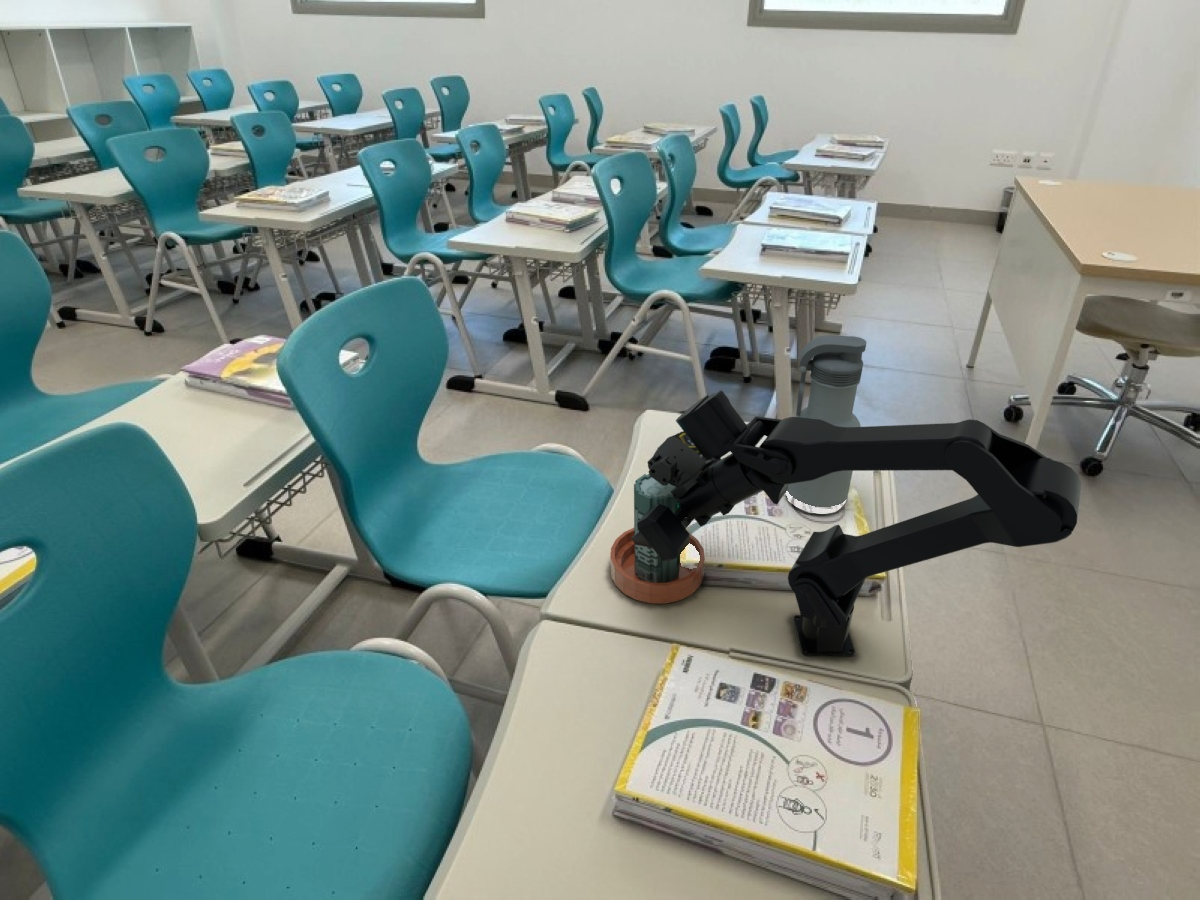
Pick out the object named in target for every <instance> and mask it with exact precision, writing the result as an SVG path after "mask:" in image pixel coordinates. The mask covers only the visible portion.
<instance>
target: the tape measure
mask: <svg viewBox="0 0 1200 900" xmlns="http://www.w3.org/2000/svg"><path fill="white" fill-rule="evenodd" d="M671 436H673V437H676V438H678V439H679V440H681V441H682V442H683V443H685V444H686V445H687V446H689V447H690V448H691V449H693V450H694V451H695V452H697V453H698V455H701V453H700V452H699V450H698V449H697V448H696V447H695V445H694V444H693V443H692V441H691V440H690V439H689V437H688V436H687V435H686V434H685V432H684V431H683V430H682V431H680V432H678V433H676V434H673V435H670V436H668V437H667V438H669V437H671Z"/></svg>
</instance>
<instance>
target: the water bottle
mask: <svg viewBox="0 0 1200 900" xmlns="http://www.w3.org/2000/svg"><path fill="white" fill-rule="evenodd" d="M867 343H868V342H867V340H865V338H862V337H860V336H854V335H853V336H852V335H838V334H823V335H819V336H817V337H814V338H812V339H811V340H809V341H808V342H807V343H806V344H805V345H804V346H803V348H802V350H801V352H800V356H799V364H798V372H799V373H800V379H799V385H798V393H797V402H796V410H795V411H796V412H795V417H802V418H811V419H820V420H823V421H825V422H828V423H830V424H832V425H835V426H840V427H862V425H861V423H860V419H858V417H857V416H856V414H854V413H853V412H854V411H853V410H854V406H855V401H856V396H857V391H858V385H859V384H860V383H861V378H862V373H863V367H864V361H863V353H864V352H865V351H866V347H867ZM807 372H810V379H811V381H810V388H809V394H808V402H807V407H804V408H803V409H802V407H803V400H804V393H805V392H804V391H805V382H806V377H807ZM853 473H854V471H839V472H833V473H830V474H828V475H825V476H823V477H820V478H817V479H815V480H812V481H806V482H799V483H793V484H788V490H787V491H788V492H789V494H790V495H791V496H793V498H795V499H797V500H798V501H801V502H803V503H805V504H808V505H811V506H815V507H817V506H818V507H831V506H835V505H839V504H841V503H843V502H844V501H845V500H846V499H847V500H848V497H849V493H850V492H849V491H850V487H851V481H852V477H853Z"/></svg>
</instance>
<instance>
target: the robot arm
mask: <svg viewBox="0 0 1200 900" xmlns="http://www.w3.org/2000/svg"><path fill="white" fill-rule="evenodd" d="M675 422H676V424H677V425H678V426H679V427H680V429H681V430H682V431H684V432H685V434H686V435H687V436H688V437H689V439H690V440H691V441H692V443H693V444H694V445H695V447H696V448H697V449H698V450H699V452H700V453H701V455H698V453H697V452H695V451H694V450H693V449H691V448H690V447H689V446H687V445H686V444H685V443H683V442H682V441H681V440H679V439H678V438H676V437H673V435H670V436H671V437H670V436H668V437H669V438H668V437H667V438H666V439H665V440H664V441H663V442H662V443H661V444H660V445H659V446H658V447H657V449H656V450H655V452H654V453H653V455H652V457H650V459H648V461H647V468H648V474H649V475H650V476H651V477H652V478H653V479H655V480H656V481H657V482H659V483H660V484H661V485H663V486H666V485H668V484H670V485H673V486H677V487H675V488H673V489H672V490H671V493H672V495H673V496H674V497H675V498H676V499H679V500H678V502H679V504H680V507H679V508H678V510H677V511H676V512H675V513H673V512H672V511H671V509H670V508H669V507H667V506H665V505H662V504H658V505H656V506H654V507H653V508H652V509H651V508H650V509H649V510H648V511H647V512H646V514H645V515H644V516H643V517H642V518H641V519H640V520H639V521H638V522H637V529H638V530H639V531H638V532H637V533H636V534H635V535H634V536H633V537H632V538H631V539H632V541H633V542H634V543H635V544H636V545H640V546H645V547H650V548H653V549H654V551H655V552H656V553H657V554H658V556H659V557H660V558H661V559H662V561H665V562H669V561H671V560H673V559H675V558H677V557H678V556H679V555H680V554H681V552H682V551H683V550H684V549H685V547H686V546H687V545H688V544H689V542H690V534H691V533H690V532H689V531H688V530H687V528H688V527H689V526H690V524H691V523H692V522H693V521H696V523H697V524H698V525H699V527H703V526H705V525H707V524H708V523H709V521H710V520H711V519H712V517H713V516H715V515H717V514H719V513H720V514H721V515H722V516H726V515H728V514H730V513H731V512H732V510H733V509H734V507H735V506H736V505H738V504H740V503H742V502H744V501H745V500H747V499H749V498H752V497H753V496H756V495H758V494H760V493H761V492H764V493H765V494H766V496H767V497H768V498H769V500H770V501H771V502H772V503H773V504H774V505H778V504H779V503H780V501H781V500H782V499H783V497H784V495H785V493H786V491H787V490H788V484H793V483H799V482H806V481H812V480H815V479H817V478H820V477H823V476H825V475H828V474H830V473H833V472H839V471H853V472H860V471H861V472H863V471H865V472H867V471H868V472H870V471H871V472H872V471H874V472H877V471H878V472H879V471H883V472H884V471H885V472H886V471H890V472H892V471H894V472H897V471H901V472H902V471H903V472H904V471H906V472H907V471H953V472H954V473H956V474H957V475H958V476H960V477H961V478H963V479H964V480H966V482H967V483H968V484H969V485H970V486H971V488H972V489H973V491H974V492H976V495H975V496H973V497H970V498H968V499H965V500H962V501H959V502H956V503H952V504H950V505H946V506H945V507H944V506H943V507H942V508H938V509H934V510H932V511H929V512H927V513H923V514H920V515H917V516H915V517H911V518H908V519H905V520H903V521H900V522H899V521H898V522H896V523H894V524H893V523H892V524H890V525H887V526H885V527H882V528H879V529H875V530H872V531H869V532H867V533H863V534H861V535H852V534H847V533H845V532H844V531H843V529H842V528H841V525H840V524H836V525H833V526H831V527H830V528H828V529H826V530H823V531H813V532H812V534H811V535H810V537H809V539H808V540H807V542H806V543H805V544H804V547H803V548H802V550H801V552H800V553H799V554H798V557H797V558H796V560H795V561H794V564H792V567H791V568H790V570H789V571H788V576H787V581H788V586H789V587H790V590H791V591H792V592H793V593H794V596H795V600H796V603H797V607H798V611H799V614H796V615H794V616H793V623H794V628H795V631H796V635H797V639H798V640H797V641H798V643H799V647H800V651H801V654H802V655H804V656H810V657H811V656H813V657H815V656H816V657H827V656H828V657H853V656H855V654H856V650H855V646H854V644H853V641H852V637H851V635H850V627H851V623H852V619H853V613H854V610H855V603H856V601H857V599H858V597H859V594H860V592H861V590H862V588H863V586H864V583H865V581H866V579H867V578H869V577H873V576H876V575H879V574H883V573H887V572H889V571H893V570H897V569H901V568H905V567H909V566H911V565H913V564H918V563H921V562H925V561H929V560H932V559H936V558H939V557H943V556H945V555H949V554H953V553H957V552H959V551H964V550H967V549H970V548H974V547H976V546H980V545H983V544H997V545H1003V546H1009V547H1013V548H1023V547H1024V548H1025V547H1032V546H1040V545H1048V544H1054V543H1058V542H1061V541H1063V540H1065V539H1067V538H1068V537H1070V536H1071V535H1072V533H1073V531H1074V530H1075V528H1076V526H1077V524H1078V518H1079V510H1080V503H1081V502H1080V501H1081V494H1082V493H1081V492H1082V482H1081V479H1080V477H1079V475H1078V473H1077V472H1076V471H1075V470H1074V469H1073V468H1072V467H1070V466H1069V465H1067V464H1065V463H1063V462H1061V461H1057V460H1054V459H1052V458H1050V457H1047V456H1045V455H1044V454H1042V453H1041V452H1039V451H1038V450H1037V449H1035V448H1034V447H1032V446H1031V445H1030V444H1027V443H1025V442H1023V441H1020V440H1017V439H1014V438H1012V437H1009V436H1006V435H1004V434H1001V433H999V432H998V431H996V430H995V429H993V428H992V427H990V426H989V425H987V424H986V423H985V422H982V421H980V420H978V419H972V418H971V419H970V418H969V419H965V420H961V421H959V422H948V423H946V422H945V423H924V424H923V423H922V424H897V425H896V424H895V425H870V426H861V427H840V426H835V425H832V424H830V423H828V422H825V421H823V420H820V419H811V418H802V417H796V416H789V417H784V418H782V419H779V418H772V417H765V416H756V415H755V416H754V417H753V418H752V419H751V420H750V421H749V422H748V423H746V422H745V421H744V419H743V418H742V417H741V415H740V414H739V412H738V411H737V410H736V409H735V408H734V406H733V405H732V403H731V401H730V399H729V397H728V396H727V395H726V393H725V392H724V391H723V390H718V391H717V392H714V393H711V394H710V395H709V394H706V395H705V396H703V397H702V398H700V399H699V400H698V401H696V402H695V403H694V404H693V405H691V406H690V407H688V408H687V409H686V410H685V411H683V412H682V414H680V415H679V416H678V417H677V418H676V419H675ZM764 437H766V438H765V439H764V440H763V438H764ZM761 440H763V441H762V442H761ZM760 442H761V444H760V445H759V446H757V445H758V444H759V443H760ZM729 453H730V454H729ZM727 454H728V455H727ZM689 533H690V534H689Z"/></svg>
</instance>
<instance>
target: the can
mask: <svg viewBox="0 0 1200 900" xmlns="http://www.w3.org/2000/svg"><path fill="white" fill-rule="evenodd" d="M675 487H677V486H673V485H670V484H668V485H666V486H663V485H661V484H660V483H659V482H657V481H656V480H655V479H653V478H652V477H651V476H650V475H649V473H648V474H646V473H644V474H642V475H641V476H640V477H638V478H637V479H636V480H635V482H634V484H633V514H634V515H633V523H634V526H633V528H634V535H635V534H636V533H637V532H638V531H639V530H638V529H637V522H638V521H639V520H640V519H641V518H642V517H643V516H644V515H645V514H646V512H647V511H648V510H649V509H650V508H651V509H652V508H653V507H654V506H656V505H658V504H662V505H665V506H667V507H669V508H670V509H671V511H672V512H673V513H675V512H676V511H677V510H678V508H679V507H680V504H679V502H678V500H679V499H676V498H675V497H674V496H673V495H672V493H671V490H672V489H673V488H675ZM634 547H635V573H636V575H637V576H638V579H640V580H642V581H646V582H651V583H667V582H672V581H673V580H674V579H675V578H677V577H678V573H679V567H680V555H679V556H678V557H677V558H675V559H673V560H671V561H669V562H665V561H662V559H661V558H660V557H659V556H658V554H657V553H656V552H655V551H654V549H653V548H650V547H645V546H640V545H636V544H635V543H634Z"/></svg>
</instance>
